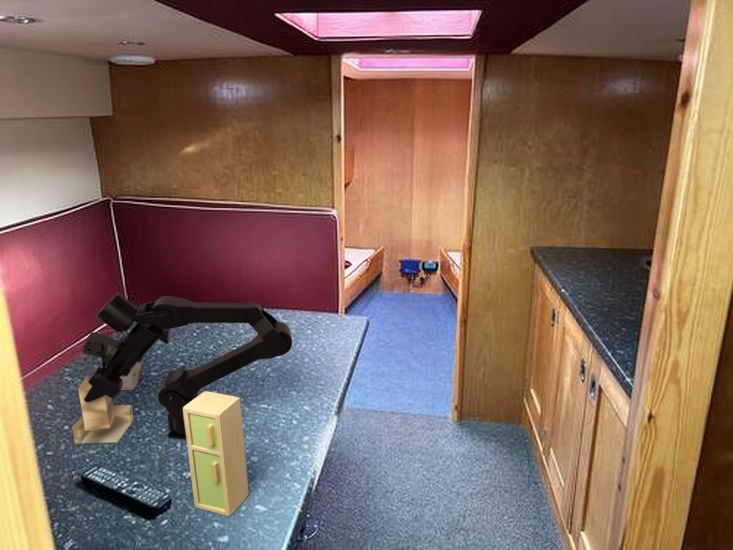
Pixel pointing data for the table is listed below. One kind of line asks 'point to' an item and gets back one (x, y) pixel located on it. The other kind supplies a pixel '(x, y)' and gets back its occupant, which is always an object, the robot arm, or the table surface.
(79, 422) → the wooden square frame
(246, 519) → the table surface
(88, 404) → the maple block
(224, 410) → the toy refrigerator
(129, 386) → the ink box
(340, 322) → the table surface
